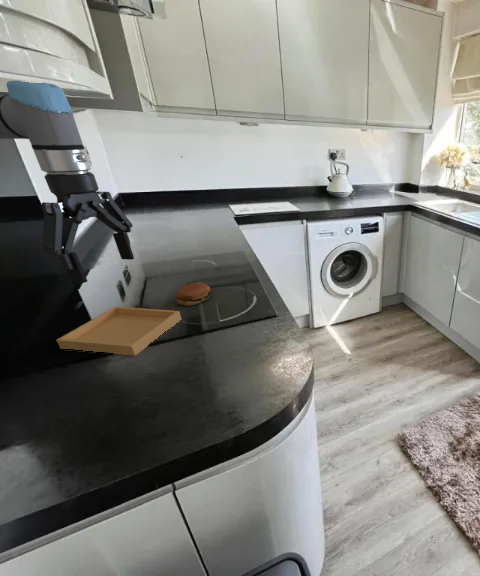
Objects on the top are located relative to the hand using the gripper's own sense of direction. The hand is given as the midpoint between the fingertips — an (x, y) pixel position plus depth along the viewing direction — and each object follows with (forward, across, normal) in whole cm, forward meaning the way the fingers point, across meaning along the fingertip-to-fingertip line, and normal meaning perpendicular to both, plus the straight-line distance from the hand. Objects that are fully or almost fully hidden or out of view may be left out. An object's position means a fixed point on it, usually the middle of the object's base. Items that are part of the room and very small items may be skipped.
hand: (106, 269), depth 74 cm
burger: (+19, +22, -4) cm, 29 cm away
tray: (+19, +2, +3) cm, 20 cm away
